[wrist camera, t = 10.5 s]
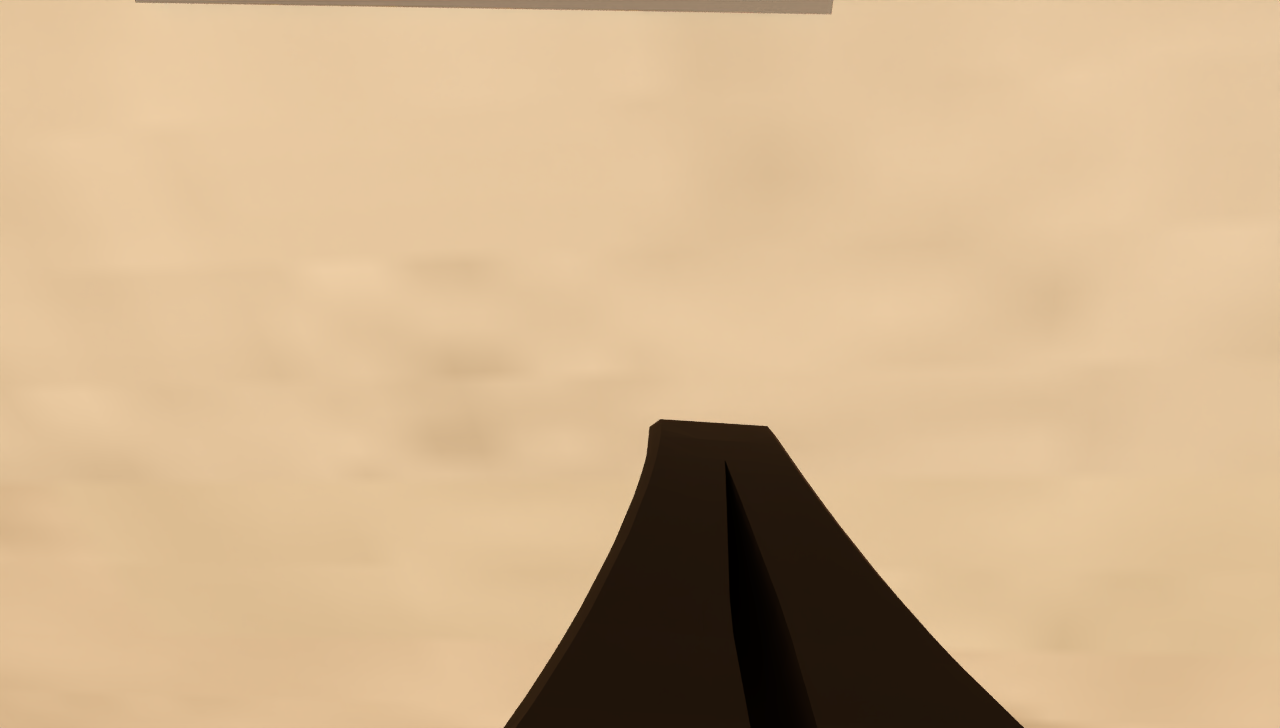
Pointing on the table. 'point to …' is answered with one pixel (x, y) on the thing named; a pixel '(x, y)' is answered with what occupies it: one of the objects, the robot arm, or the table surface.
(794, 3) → the dock
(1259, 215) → the table surface
